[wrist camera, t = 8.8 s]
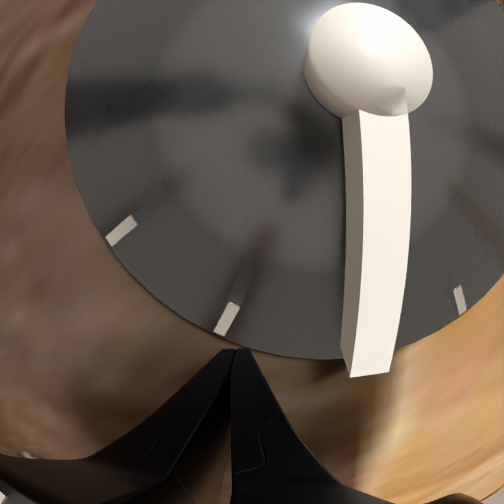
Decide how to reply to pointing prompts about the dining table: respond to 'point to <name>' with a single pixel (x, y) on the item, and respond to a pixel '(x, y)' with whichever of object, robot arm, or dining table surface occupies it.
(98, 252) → the dining table surface
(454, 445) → the dining table surface
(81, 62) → the dial face
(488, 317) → the dining table surface
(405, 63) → the dial pointer
